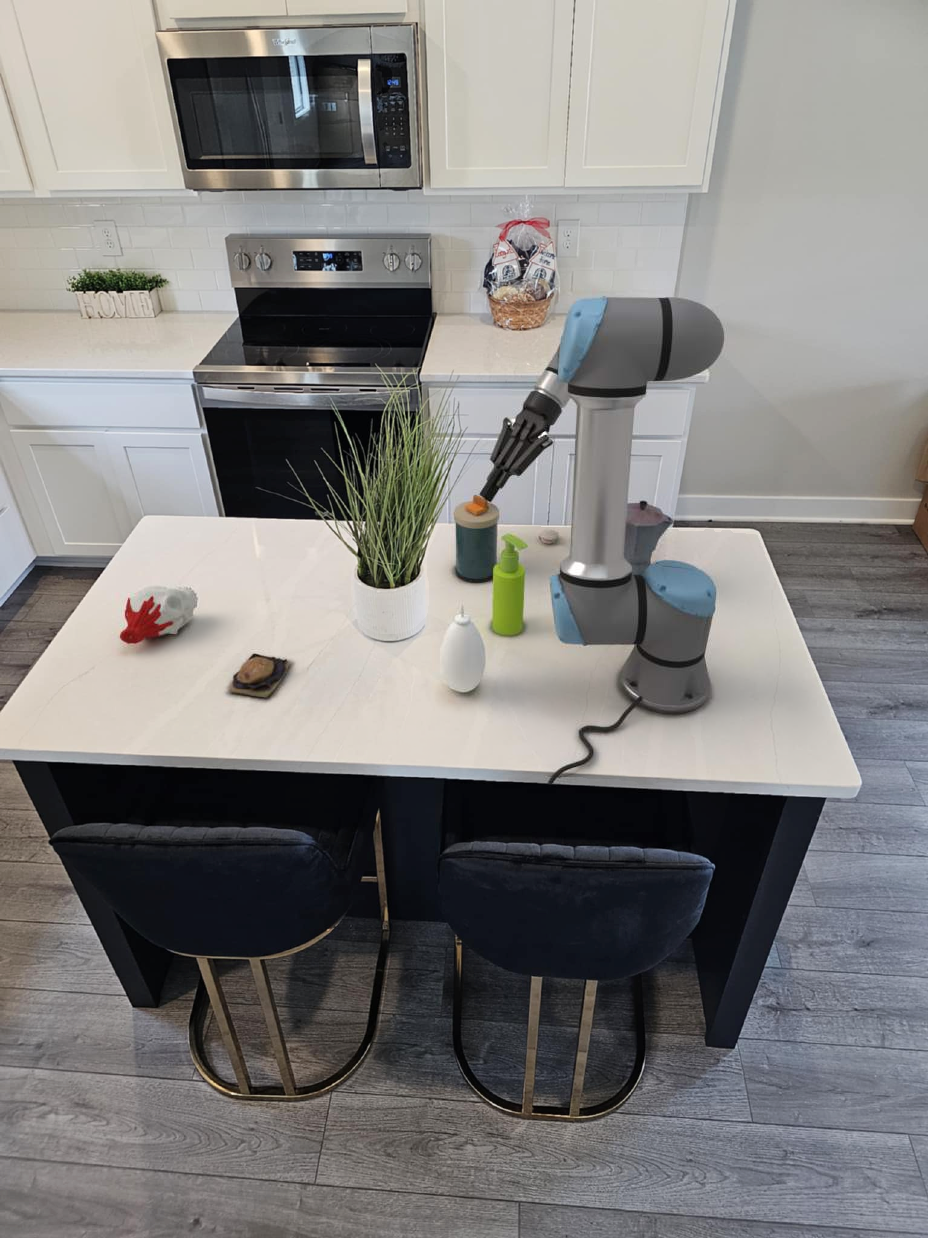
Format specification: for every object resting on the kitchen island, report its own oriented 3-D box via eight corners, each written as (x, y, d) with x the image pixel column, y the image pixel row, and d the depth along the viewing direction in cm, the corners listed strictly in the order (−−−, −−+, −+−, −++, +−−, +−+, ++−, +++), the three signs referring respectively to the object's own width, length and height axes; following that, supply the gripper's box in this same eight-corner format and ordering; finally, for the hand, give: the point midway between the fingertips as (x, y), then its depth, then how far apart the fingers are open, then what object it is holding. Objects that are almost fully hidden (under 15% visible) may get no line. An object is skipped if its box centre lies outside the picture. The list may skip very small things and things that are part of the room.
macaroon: (534, 540, 191) (535, 530, 190) (551, 533, 194) (551, 523, 192) (547, 547, 189) (548, 537, 187) (564, 540, 191) (564, 531, 190)
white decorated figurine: (205, 613, 168) (162, 665, 157) (156, 602, 171) (111, 652, 160) (193, 578, 162) (148, 629, 151) (143, 567, 165) (95, 617, 154)
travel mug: (478, 555, 186) (478, 496, 178) (506, 572, 180) (508, 511, 172) (445, 570, 181) (444, 509, 173) (474, 588, 176) (474, 526, 167)
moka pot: (662, 603, 170) (676, 515, 159) (585, 595, 173) (594, 508, 161) (663, 578, 178) (676, 492, 166) (589, 571, 181) (597, 486, 169)
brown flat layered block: (269, 701, 147) (266, 684, 145) (225, 693, 149) (221, 676, 147) (294, 663, 155) (292, 647, 153) (252, 656, 157) (249, 640, 155)
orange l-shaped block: (475, 504, 174) (475, 494, 173) (487, 510, 172) (487, 500, 170) (464, 508, 172) (464, 498, 171) (476, 515, 170) (476, 505, 169)
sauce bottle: (490, 678, 152) (491, 595, 141) (478, 706, 145) (478, 621, 135) (448, 670, 153) (446, 587, 143) (434, 698, 147) (432, 613, 137)
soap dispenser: (509, 642, 160) (512, 550, 149) (486, 625, 165) (487, 535, 153) (532, 630, 163) (537, 540, 152) (508, 614, 168) (511, 525, 156)
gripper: (579, 418, 170) (515, 517, 171) (534, 400, 178) (473, 495, 179) (562, 399, 164) (496, 502, 165) (516, 381, 173) (454, 479, 174)
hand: (484, 498), depth 172 cm, fingers closed
